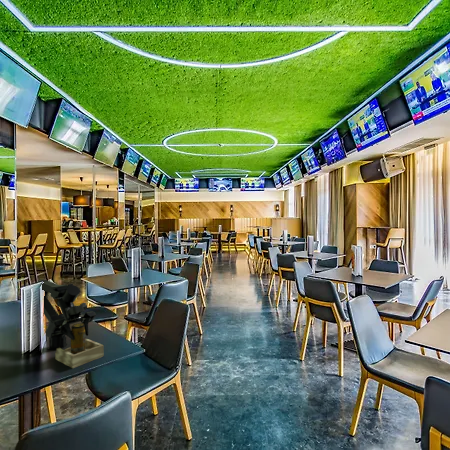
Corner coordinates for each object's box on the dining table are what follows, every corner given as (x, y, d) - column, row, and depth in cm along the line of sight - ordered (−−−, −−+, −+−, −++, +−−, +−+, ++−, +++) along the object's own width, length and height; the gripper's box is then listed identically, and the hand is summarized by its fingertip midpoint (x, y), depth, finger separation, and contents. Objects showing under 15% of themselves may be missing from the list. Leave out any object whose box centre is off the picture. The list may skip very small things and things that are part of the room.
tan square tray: (55, 359, 135) (55, 347, 135) (85, 348, 146) (85, 338, 146) (72, 368, 126) (72, 356, 126) (103, 356, 138) (103, 345, 138)
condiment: (78, 347, 141) (78, 321, 141) (93, 350, 138) (92, 323, 138) (65, 353, 135) (65, 326, 134) (80, 356, 132) (79, 329, 131)
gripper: (52, 302, 131) (66, 333, 125) (93, 294, 146) (107, 321, 140) (44, 317, 136) (56, 348, 129) (84, 307, 151) (97, 334, 144)
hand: (80, 337), depth 136 cm, fingers closed on condiment, 6 cm apart
